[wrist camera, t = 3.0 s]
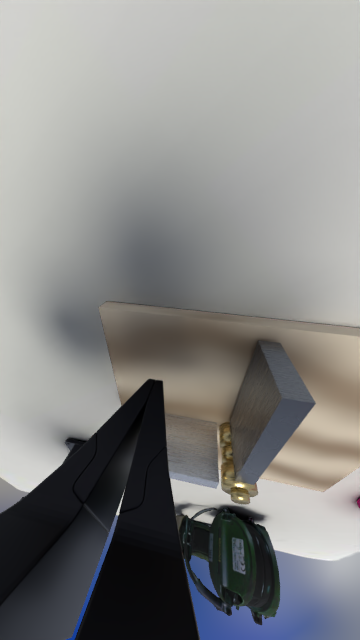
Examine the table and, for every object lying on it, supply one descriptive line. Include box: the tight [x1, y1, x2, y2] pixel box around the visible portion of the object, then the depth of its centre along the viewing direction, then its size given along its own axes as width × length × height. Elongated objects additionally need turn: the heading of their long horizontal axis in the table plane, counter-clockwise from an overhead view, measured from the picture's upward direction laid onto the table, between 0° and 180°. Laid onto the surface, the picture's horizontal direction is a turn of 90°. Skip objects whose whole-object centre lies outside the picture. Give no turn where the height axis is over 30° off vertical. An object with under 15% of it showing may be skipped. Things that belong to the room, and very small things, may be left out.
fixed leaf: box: [165, 413, 258, 504], centre depth 13 cm, size 11×2×4 cm, turn 88°
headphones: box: [176, 508, 280, 625], centre depth 29 cm, size 13×13×20 cm
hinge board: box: [98, 301, 360, 492], centre depth 15 cm, size 20×22×1 cm
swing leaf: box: [221, 340, 316, 485], centre depth 11 cm, size 11×2×4 cm, turn 178°
